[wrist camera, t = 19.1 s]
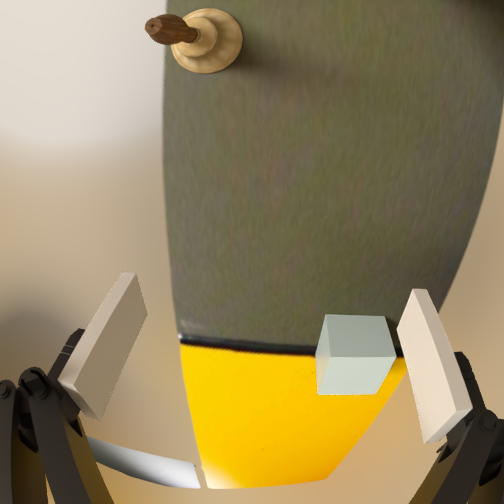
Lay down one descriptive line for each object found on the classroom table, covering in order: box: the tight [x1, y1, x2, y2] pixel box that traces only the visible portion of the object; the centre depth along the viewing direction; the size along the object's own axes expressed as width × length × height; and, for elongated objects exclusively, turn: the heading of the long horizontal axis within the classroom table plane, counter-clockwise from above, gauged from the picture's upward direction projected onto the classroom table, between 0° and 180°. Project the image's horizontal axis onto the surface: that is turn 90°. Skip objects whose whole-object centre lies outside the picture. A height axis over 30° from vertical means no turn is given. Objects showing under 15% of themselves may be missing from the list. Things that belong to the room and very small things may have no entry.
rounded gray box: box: [316, 314, 396, 395], centre depth 48 cm, size 10×10×9 cm
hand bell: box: [145, 8, 243, 74], centre depth 23 cm, size 8×8×16 cm
